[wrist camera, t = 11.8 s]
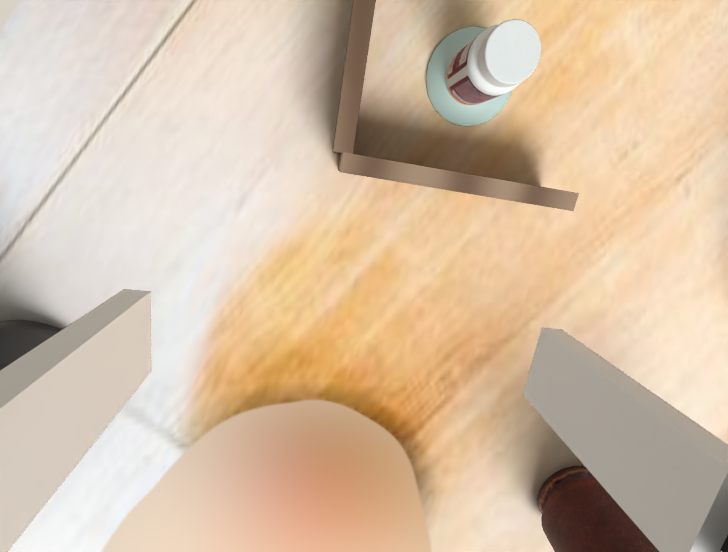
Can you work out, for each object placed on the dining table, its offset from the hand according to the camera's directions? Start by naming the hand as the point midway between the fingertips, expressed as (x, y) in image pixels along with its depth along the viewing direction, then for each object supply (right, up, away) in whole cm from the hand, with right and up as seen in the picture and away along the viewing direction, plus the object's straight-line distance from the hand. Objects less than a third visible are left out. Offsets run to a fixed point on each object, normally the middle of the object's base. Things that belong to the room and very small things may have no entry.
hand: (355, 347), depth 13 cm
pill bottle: (+10, +20, +22) cm, 31 cm away
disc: (+10, +20, +22) cm, 31 cm away
